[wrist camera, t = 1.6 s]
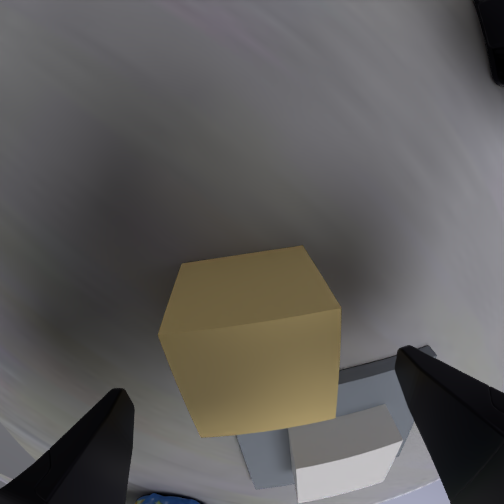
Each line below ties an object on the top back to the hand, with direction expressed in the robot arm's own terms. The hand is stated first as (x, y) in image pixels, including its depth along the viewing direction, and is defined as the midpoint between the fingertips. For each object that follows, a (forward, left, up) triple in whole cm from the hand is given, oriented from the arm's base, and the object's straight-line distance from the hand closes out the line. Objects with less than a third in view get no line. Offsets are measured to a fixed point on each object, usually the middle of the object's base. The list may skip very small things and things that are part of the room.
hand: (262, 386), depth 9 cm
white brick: (-4, +11, -4) cm, 12 cm away
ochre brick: (0, 0, -5) cm, 5 cm away
